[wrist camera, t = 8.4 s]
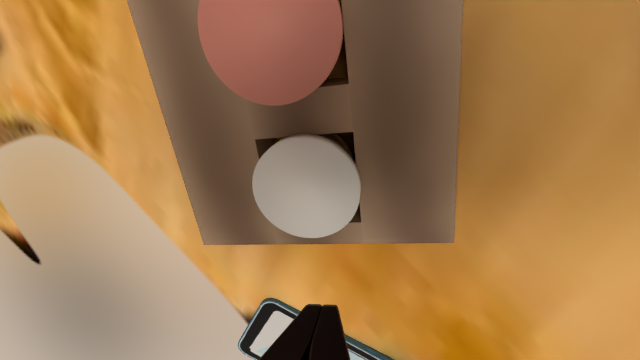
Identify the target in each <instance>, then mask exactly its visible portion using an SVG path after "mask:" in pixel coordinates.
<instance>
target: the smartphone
mask: <svg viewBox="0 0 640 360" xmlns="http://www.w3.org/2000/svg"><path fill="white" fill-rule="evenodd" d="M300 312H301V311H299V310H297V309H295V308H293V307H291V306H289V305H287V304H285V303H283V302H281V301H279V300H277V299H274V298H268V299H265V300H264V301H263V302H262V303H261V305H260V306H259V308H258V310H257V312H256V313H255V315H254V317H253V318H252V320H251V322H250V323H249V325H248V326H247V328H246V330H245V332H244V333H243V335H242V336H241V338H240V340H239V343H238V347H239V349H240V351H241V352H243V353H244V354H245V355H247V356H249V357H251V358H253V359H254V360H259V359H260V357H261V356H262V355H263V354H264V353H265V352H266V351H267V349H268V348H269V347H270V346H271V345H272V344H273V343H274V342H275V340H276V339H277V338H278V337H279V336H280V335H281V334H282V332H283V331H284V330H285V329H286V328H287V327H288V326H289V324H290V323H291V322H292V321H293V320H294V319H295V318H296V316H297V315H298V314H299V313H300ZM344 335H345V334H344ZM345 339H346V343H347V347H348V351H349V355H350V360H393V359H391V358H389V357H388V356H386V355H384V354H382V353H380V352H378V351H376V350H374V349H372V348H370V347H368V346H366V345H364V344H362V343H361V342H359V341H357V340H355V339H353V338H351V337H349V336H347V335H345Z"/></svg>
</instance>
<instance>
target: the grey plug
mask: <svg viewBox="0 0 640 360" xmlns="http://www.w3.org/2000/svg"><path fill="white" fill-rule="evenodd" d="M252 188H253V194H254V197H255V201H256V203H257V205H258V207H259V209H260V210H261V212H262V213H263V215H264V216H265V217H266V218H267V219H268V220H269V221H270V222H271V223H272V224H273V225H275V226H276V227H277V228H279V229H280V230H282V231H284V232H286V233H289V234H291V235H294V236H298V237H303V238H320V237H325V236H328V235H331V234H334V233H336V232H338V231H339V230H341V229H342V228H344V227H345V226H346V225H347V224H348V223H349V222H350V221H351V219H352V218H353V216H354V215H355V213H356V211H357V208H358V205H359V200H360V193H361V181H360V175H359V172H358V169H357V167H356V165H355V163H354V158H353V154H352V152H351V150H350V148H349V146H348V145H347V143H346V142H345V141H344V140H343V139H342V138H341V137H339V136H338V135H337V134H335V133H332V134H319V135H311V134H298V135H292V136H289V137H286V138H283V139H281V140H279V141H278V142H276V143H275V144H274V145H272V146H271V147H270V148H269V149H268V150H267V151H266V152H265V153H264V154H263V155H262V157H261V158H260V159H259V161H258V163H257V165H256V167H255V170H254V173H253V179H252Z"/></svg>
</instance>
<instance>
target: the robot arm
mask: <svg viewBox="0 0 640 360" xmlns="http://www.w3.org/2000/svg"><path fill="white" fill-rule="evenodd" d="M259 360H350V355H349V351H348V347H347V343H346V339H345V335H344V331H343V326H342V322H341V318H340V314H339V310H338V307H337V305H323V306H322V305H320V304H308V305H306V306H305V307H304V308H303V310H302V311H301V312H300V313H299V314H298V315H297V316H296V318H295V319H294V320H293V321H292V322H291V323H290V324H289V326H288V327H287V328H286V329H285V330H284V331H283V332H282V334H281V335H280V336H279V337H278V338H277V339H276V340H275V342H274V343H273V344H272V345H271V346H270V347H269V348H268V349H267V351H266V352H265V353H264V354H263V355H262V356H261V357H260V359H259Z"/></svg>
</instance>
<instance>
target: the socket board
mask: <svg viewBox="0 0 640 360" xmlns="http://www.w3.org/2000/svg"><path fill="white" fill-rule="evenodd" d="M127 2H128V5H129V9H130V12H131V15H132V18H133V21H134V24H135V28H136V31H137V34H138V37H139V40H140V43H141V47H142V50H143V53H144V56H145V59H146V62H147V66H148V69H149V72H150V75H151V78H152V82H153V85H154V88H155V91H156V94H157V97H158V101H159V104H160V107H161V110H162V113H163V116H164V120H165V123H166V126H167V129H168V132H169V135H170V139H171V142H172V145H173V148H174V151H175V154H176V158H177V161H178V164H179V167H180V170H181V173H182V177H183V180H184V183H185V186H186V189H187V192H188V196H189V199H190V202H191V205H192V208H193V211H194V215H195V218H196V221H197V224H198V227H199V230H200V234H201V237H202V240H203V243H204V245H248V244H374V243H454V232H455V205H456V178H457V151H458V124H459V97H460V70H461V43H462V16H463V0H341V4H342V15H343V26H344V37H345V48H346V59H347V70H348V77H345V78H336V79H327V80H325V81H324V82H323V83H322V84H321V85H320V86H319V87H318V88H317V89H316V90H314V91H313V92H312V93H311V94H309V95H308V96H306V97H305V98H303V99H301V100H298V101H296V102H293V103H290V104H285V105H278V106H270V105H262V104H258V103H254V102H251V101H249V100H246V99H244V98H243V97H241V96H239V95H237V94H236V93H234V92H233V91H232V90H230V89H229V88H228V87H227V86H226V85H225V84H224V83H223V82H222V81H221V80H220V79H219V78H218V76H217V75H216V74H215V72H214V71H213V69H212V68H211V66H210V64H209V62H208V61H207V58H206V56H205V54H204V51H203V48H202V45H201V42H200V37H199V31H198V6H199V0H127ZM344 132H353V136H354V147H355V158H356V167H357V169H358V172H359V175H360V181H361V193H360V200H359V205H358V208H357V211H356V213H355V215H354V216H353V218H352V219H351V221H350V222H349V223H348V224H347V225H346V226H345V227H344V228H342V229H341V230H339V231H338V232H336V233H334V234H331V235H328V236H325V237H320V238H303V237H298V236H294V235H291V234H289V233H286V232H284V231H282V230H280V229H279V228H277V227H276V226H275V225H273V224H272V223H271V222H270V221H269V220H268V219H267V218H266V217H265V216H264V215H263V213H262V212H261V210H260V209H259V207H258V205H257V203H256V201H255V197H254V194H253V188H252V179H253V173H254V170H255V167H256V165H257V163H258V161H259V159H260V158H261V157H262V155H263V154H264V153H265V152H266V151H267V150H268V149H269V148H270V147H271V146H272V145H274V144H275V138H281V137H289V136H292V135H298V134H311V135H319V134H332V133H344Z"/></svg>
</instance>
